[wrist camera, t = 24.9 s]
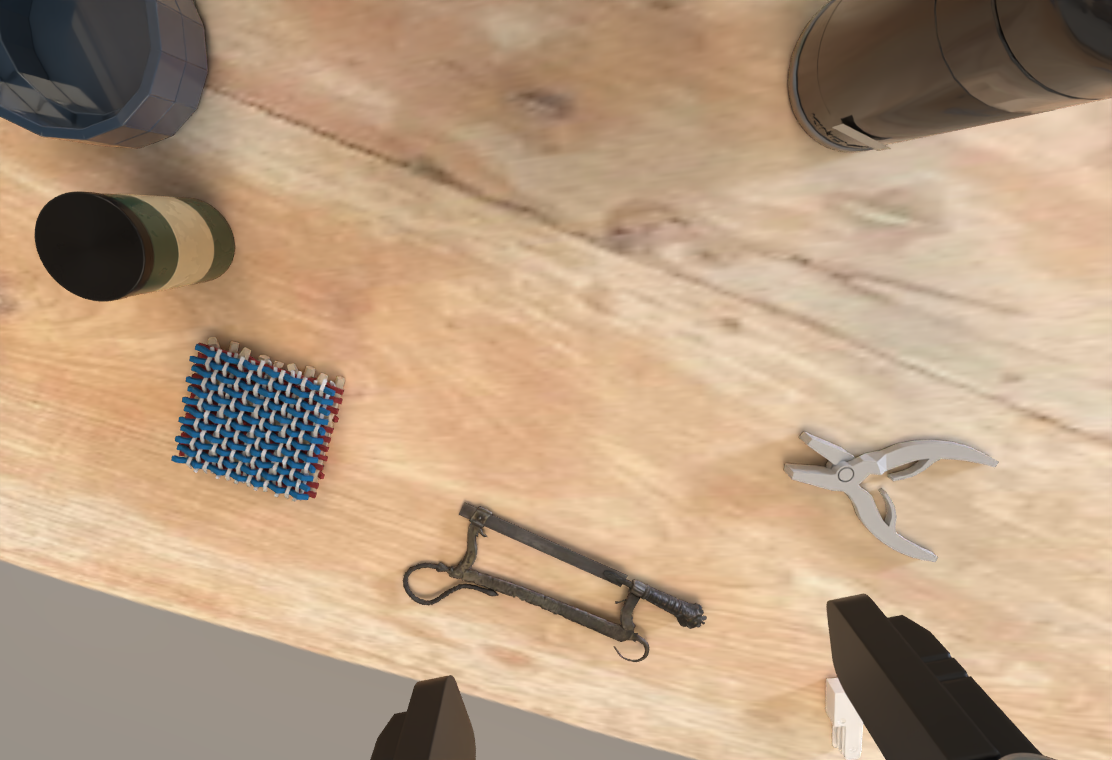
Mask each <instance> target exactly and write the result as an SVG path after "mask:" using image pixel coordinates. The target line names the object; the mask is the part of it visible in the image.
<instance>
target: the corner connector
mask: <svg viewBox="0 0 1112 760" xmlns="http://www.w3.org/2000/svg"><path fill="white" fill-rule="evenodd" d="M826 713H827V715H828V717H829V719H830V720H831V722H832V724H833V729H832V745H833V747H836V748H838V749H839V750H841V753H842V755H844V757H845V759H847V760H851V759H858V758H860V755H861V752H862V730H863V724H864V723H863V721H862V720H861V718H860V717H859V715H858V713H857V712H856V710H855V708H854V707H853V705H852V704H851V702H850V700H849V699H848V697H847V695H846V694H845V692H844V690H843V688H842V686H841V684H840V682H839V679H838V678H828V679H826Z"/></svg>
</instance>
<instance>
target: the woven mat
mask: <svg viewBox="0 0 1112 760" xmlns="http://www.w3.org/2000/svg"><path fill="white" fill-rule="evenodd" d="M238 347H239V343H238V342H234V341H231V342H230V346H229V350H228V351H226V350H222V349H220V346H219V343H218V341H217V339H216V337H213V338H208V343H207V345H206V344H202V343H198V344H196V346H195V350H198V351H200V352H201V353H200V352H198V357H195V356H190V360H189V361H191V362H193V363H196V364H195V365H193V366H192V368H191V371H195V372H197V373H198V374H196V373H194V374H192V377H190V376H188V377H186V382H188V383H191V385H189V386H188V390H187V391H189V392H192V393H191V396H190V398H188V397H183V398H182V402H184V403H186V404H187V405H185V407H184V411H186V412H189V413H186V416H185V417H179V421H178V422H180V423H183V425H182V426H181V428H180V430H181V431H184V432H182V433H181V436H176V437H175V441H176V442H179V444H178V446H177V450H180V453H179V456H184V457H178V456H176V455H174V456H172V459H171V461H174V462H176V463H186V465H187V466H188V467H189V468H191V466H192V467H193V468H194V469H195V470H194V472H198V470H199V469H203V471H204V472H205V473H206V474H207V469H209V470H211V473H213V474H214V473H215V474H216V475H217V476H216V478H217V479H219V478H220V475H225V478H226V480H230V477H232V478H233V479H235V481H234V483H235V484H238V482H239V481H241V482H242V483H245V482H246V484H247V486H248V487H250V486H251V484H252V485H253V486H254V489H253V490H256V491H257V490H258V488H259V487H263V492H267V487H268V488H270V489H271V490H273V491H274V492H275V495H274V496H275V497H278V496H279V494H280V493H285V498H287V499H288V498H289V495H291V496H292V497H293V499H292V501H295V502H296V500H308V498H309V497H311V498H315V497H316V494H317V493H316V489H317V488H318V486H319V483H318V478H320V479H324V476H325V475H324V474H323V473H322V472H321V471H322V470H323V467H324V465H323V461H327V459H328V457H327V456H325V453H326V452H328V449H329V447H327V446H328V443H330V441H331V437H330V435H331V434H332V433H333V430H334V428H332V427H333V422H338V419H339V418H338V417H337V416H336V415H337V414H338V411H339V409H337V408H338V404H341V403H342V398H340V397H341V395H342V394H343V392H344V390H343V386H344V382H345V379H344V377H340V376H336V380H335V383H334V382H332V381H331V380H330V384H329V383H328V382H327V378H328V375H326V374H323V373H320V374H319V376H318V377H317V378H314V374H315V370H316V369H315V368H314V367H311V366H306V368H305V372H304V376H302V372H301V371H298V369H297V367H296V365H295V363H294V364H288V365H287V369H288V371H287V370H284V369H282V367H283V365H284V363H282V362H279V361H274V363H273V365H272V362H271V361H270V360H269V358H270V357H268V356H266V355H260V356H259V359H258V360H256V359H255V358H253V357H252V356H250V354H251V350H250V349H247V348H244V349H243V350H242V351H241V352H240V354H239V353H237V352H238ZM202 353H203V354H202ZM220 358H221V359H222V360H224V361H222V360H220ZM220 370H221V371H220ZM199 374H200V375H199ZM284 379H285V380H286V381H285V380H284ZM251 380H253V381H251ZM196 384H197V385H196ZM200 385H201V386H200ZM267 385H268V386H267ZM300 385H301V386H300ZM325 393H326V394H325ZM278 399H280V400H281V401H280V400H278ZM294 404H295V405H294ZM335 414H336V415H335ZM224 418H225V419H224ZM303 418H304V419H303ZM332 421H333V422H332ZM318 433H319V434H318ZM298 442H299V443H298ZM196 460H197V461H196ZM293 460H294V461H293ZM304 474H305V475H304Z"/></svg>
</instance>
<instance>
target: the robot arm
mask: <svg viewBox="0 0 1112 760" xmlns="http://www.w3.org/2000/svg"><path fill="white" fill-rule="evenodd" d="M788 89H789V97H790V102H791V106H792V109H793V111H794V114H795V116H796V118H797V120H798V122H799V123H800V125H801V126H802V128H803V129H804V130H805V132H806V133H807V134H808V135H809V136H810V137H811V138H813V139H814V140H815V141H817V142H818V143H820V144H821V145H823V146H825V147H827V148H830V149H833V150H837V151H842V152H861V151H867V150H872V149H875V150H877V151H881V150H886V149H891V148H889V147H887V146H885V145H888V144H893V143H899V142H904V141H909V140H913V139H918V138H923V137H928V136H933V135H937V134H942V133H947V132H952V131H957V130H961V129H966V128H971V127H976V126H981V125H985V124H990V123H995V122H1000V121H1005V120H1009V119H1014V118H1019V117H1024V116H1029V115H1033V114H1038V113H1043V112H1048V111H1053V110H1056V109H1061V108H1066V107H1071V106H1075V105H1080V104H1085V103H1090V102H1095V101H1100V100H1104V99H1109V98H1112V0H832V1H830V2H829V3H828V4H827V5H825V6H824V7H823V8H822V9H821V10H820V11H819V12H818V13H817V14H816V15H815V16H814V17H813V18H812V19H811V20H810V22H809V23H808V24H807V26H806V27H805V29H804V30H803V32H802V34H801V35H800V37H799V39H798V41H797V44H796V46H795V49H794V51H793V55H792V58H791V62H790V67H789V75H788ZM826 607H827V617H828V626H829V634H830V643H831V651H832V659H833V664H834V668H835V671H836V674H837V677H838V679H839V682H840V684H841V686H842V688H843V690H844V692H845V694H846V695H847V697H848V699H849V700H850V702H851V704H852V705H853V707H854V708H855V710H856V712H857V713H858V715H859V717H860V718H861V720H862V721H863V723H864V725H865V726H866V728H867V730H868V731H869V733H870V735H871V736H872V738H873V739H874V741H875V743H876V744H877V746H878V748H879V749H880V751H881V752H882V754H883V756H884V757H885V759H886V760H1056V759H1053V758H1050V757H1047V756H1044V755H1042V754H1041V753H1040V752H1039V751H1038V750H1037V749H1036V748H1035V747H1034V745H1033V744H1032V743H1031V742H1030V741H1029V740H1028V739H1027V738H1026V737H1025V736H1024V734H1023V733H1022V732H1021V731H1020V730H1019V729H1018V728H1017V727H1016V726H1015V725H1014V723H1013V722H1012V721H1011V720H1010V719H1009V718H1008V717H1007V716H1006V715H1005V714H1004V712H1003V711H1002V710H1001V709H1000V708H999V707H998V706H997V705H996V704H995V703H994V701H993V700H992V699H991V698H990V697H989V696H988V695H987V694H986V693H985V692H984V690H983V689H982V688H981V687H980V686H979V685H978V684H977V683H976V682H975V681H974V679H973V678H972V677H971V676H970V677H969V676H968V675H967V672H966V671H965V670H964V668H963V667H962V666H961V665H960V664H959V663H958V662H957V661H956V660H955V659H954V658H952V657H951V656H950V653H949V652H948V651H947V650H946V649H945V647H944V646H943V645H942V644H941V643H940V642H939V641H938V640H937V639H936V638H935V636H934V635H933V634H932V633H931V632H930V631H928V630H927V629H925V628H923V627H922V626H920V625H918V624H917V623H915V622H913V621H912V620H910V619H908V618H907V617H905V616H903V615H900V616H895V617H889V618H887V617H886V616H885V615H884V613H883V612H882V611H881V610H880V609H879V607H878V606H877V605H876V604H875V603H874V601H873V600H872V599H871V598H870V597H869V596H868V595H866V594H860V595H855V596H850V597H845V598H840V599H835V600H830V601H828V602H827V606H826ZM475 757H476V746H475V738H474V732H473V728H472V725H471V722H470V719H469V716H468V714H467V711H466V708H465V705H464V703H463V700H462V697H461V694H460V691H459V689H458V686H457V683H456V681H455V679H454V677H453V676H451V675H449V676H444V677H439V678H434V679H429V680H424V681H419V682H417V683H416V685H415V686H414V689H413V693H412V696H411V699H410V703H409V706H408V709H407V712H402V713H397V714H394V715H393V717H392V718H391V719H390V721H389V722H388V724H387V725H386V727H385V728H384V730H383V731H382V733H381V734H380V735H379V737H378V738H377V741H376V744H375V747H374V750H373V753H372V757H371V759H370V760H476V758H475Z"/></svg>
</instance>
